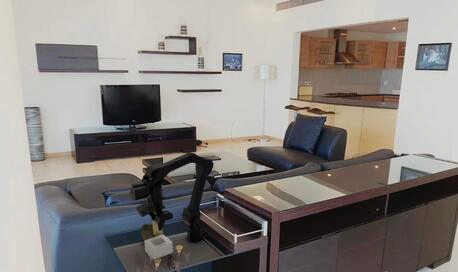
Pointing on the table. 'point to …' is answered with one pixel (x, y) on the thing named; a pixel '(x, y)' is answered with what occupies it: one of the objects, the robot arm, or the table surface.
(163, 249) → the jig
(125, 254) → the table surface
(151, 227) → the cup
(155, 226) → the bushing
